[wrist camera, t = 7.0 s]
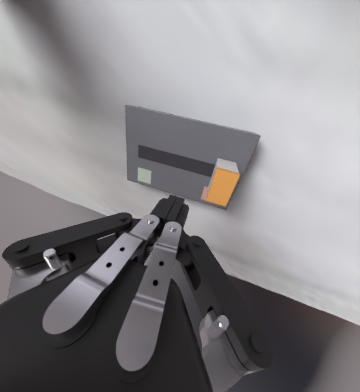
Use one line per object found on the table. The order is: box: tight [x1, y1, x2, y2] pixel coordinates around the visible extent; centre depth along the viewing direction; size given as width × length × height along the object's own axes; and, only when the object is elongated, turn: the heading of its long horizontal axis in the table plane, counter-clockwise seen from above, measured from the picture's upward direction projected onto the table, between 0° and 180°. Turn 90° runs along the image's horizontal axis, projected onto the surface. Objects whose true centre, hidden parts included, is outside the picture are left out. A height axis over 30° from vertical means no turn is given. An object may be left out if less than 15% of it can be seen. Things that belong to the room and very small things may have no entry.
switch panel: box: [125, 105, 260, 210], centre depth 27 cm, size 22×14×4 cm, turn 80°
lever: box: [206, 158, 240, 207], centre depth 21 cm, size 3×5×6 cm, turn 170°
